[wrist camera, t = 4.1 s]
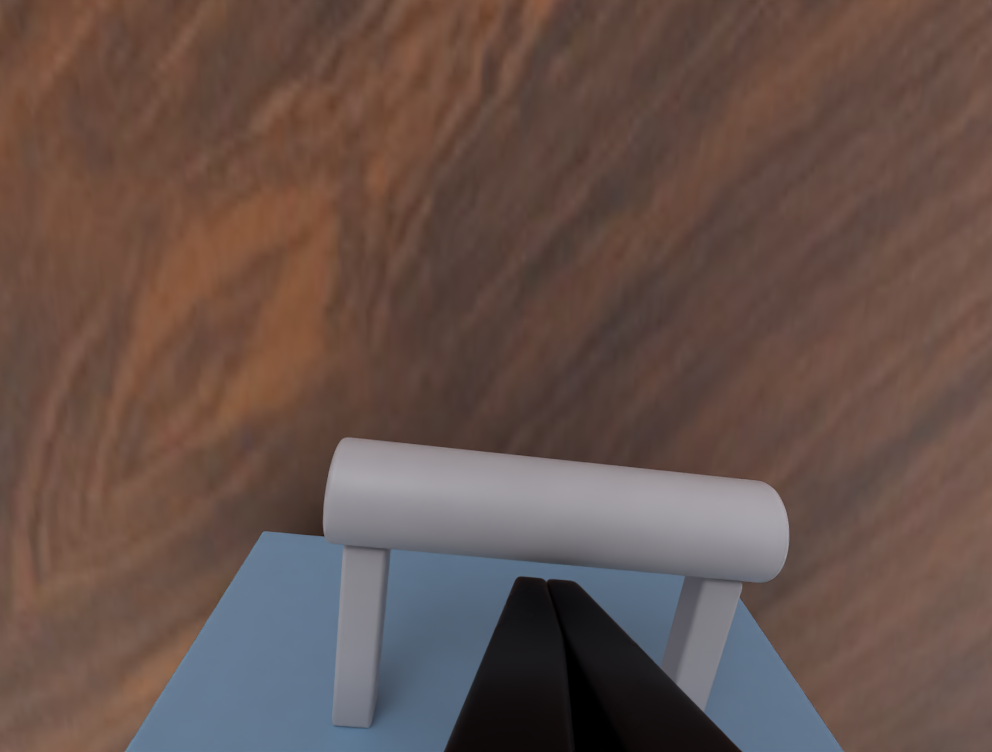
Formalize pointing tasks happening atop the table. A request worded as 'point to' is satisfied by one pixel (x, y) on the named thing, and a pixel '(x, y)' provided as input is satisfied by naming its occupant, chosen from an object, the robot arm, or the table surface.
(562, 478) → the drawer
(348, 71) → the table surface
